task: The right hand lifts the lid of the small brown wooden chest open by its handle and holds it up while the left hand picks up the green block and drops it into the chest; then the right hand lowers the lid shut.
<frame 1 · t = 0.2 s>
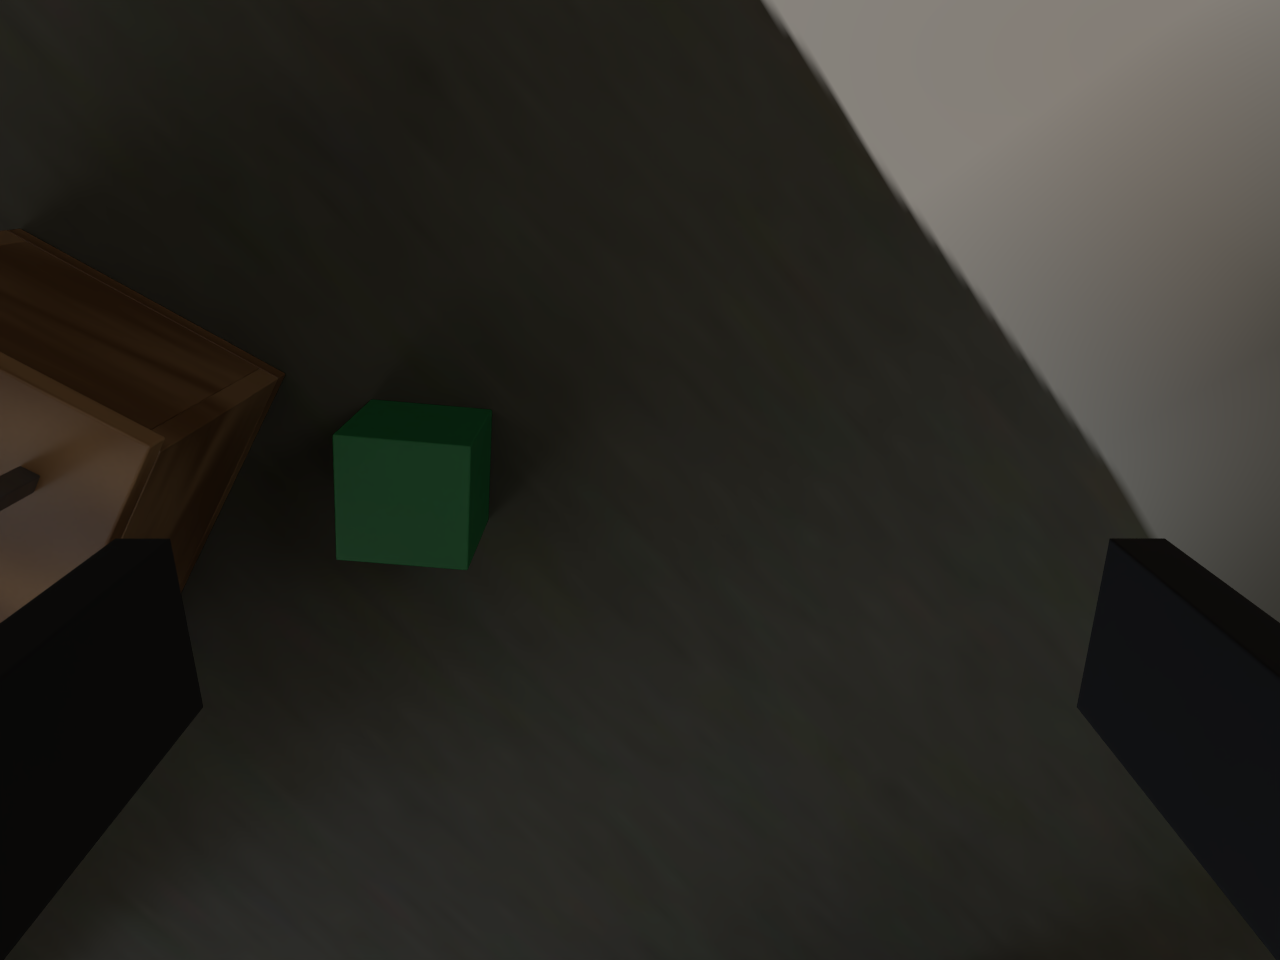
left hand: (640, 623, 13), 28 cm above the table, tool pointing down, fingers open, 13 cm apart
block: (431, 461, 41), on the table
chest: (91, 459, 41), on the table
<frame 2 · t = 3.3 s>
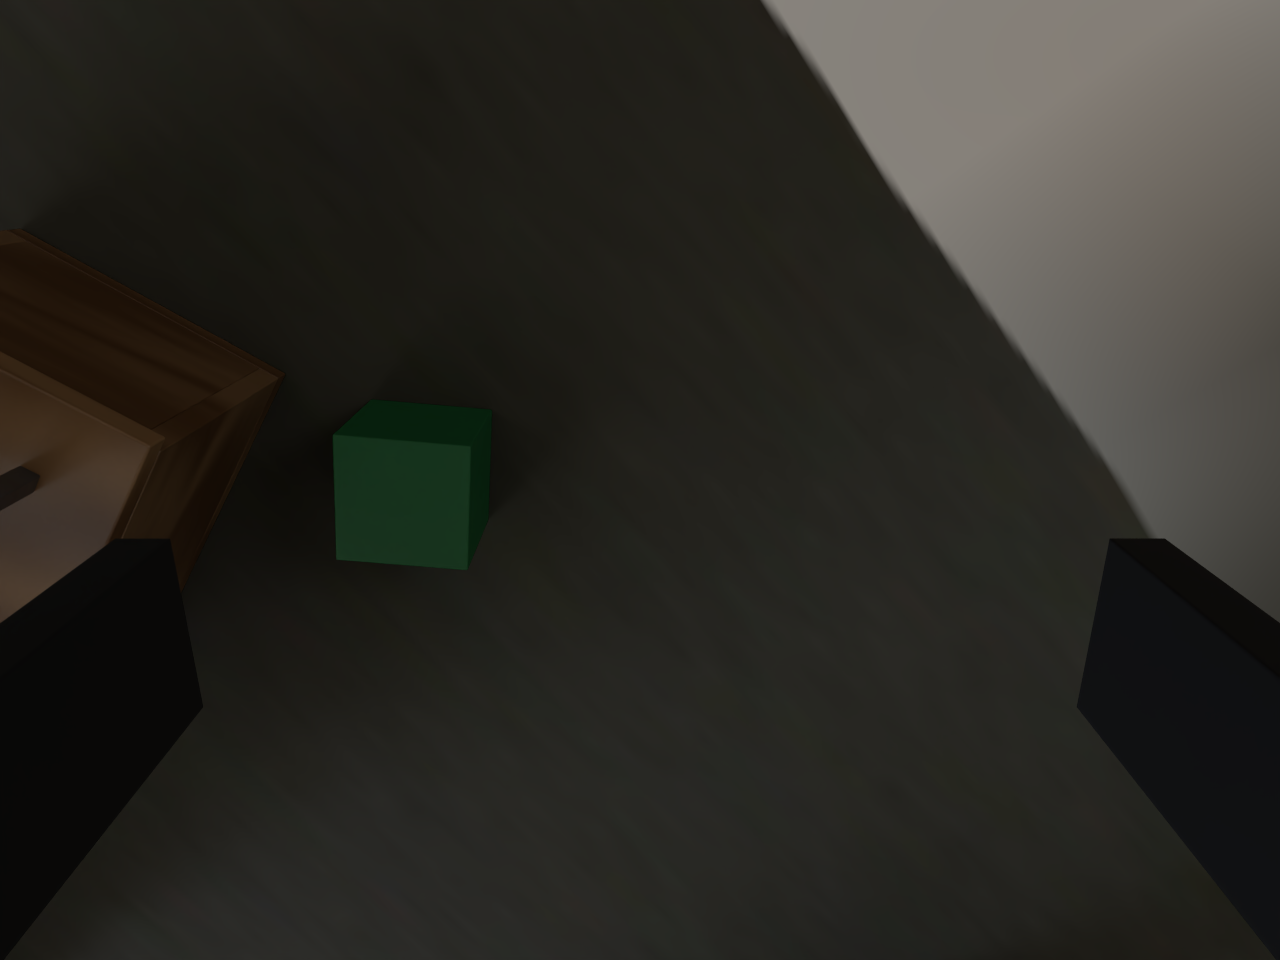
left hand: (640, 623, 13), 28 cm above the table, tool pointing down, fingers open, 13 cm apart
block: (431, 461, 41), on the table
chest: (91, 459, 41), on the table
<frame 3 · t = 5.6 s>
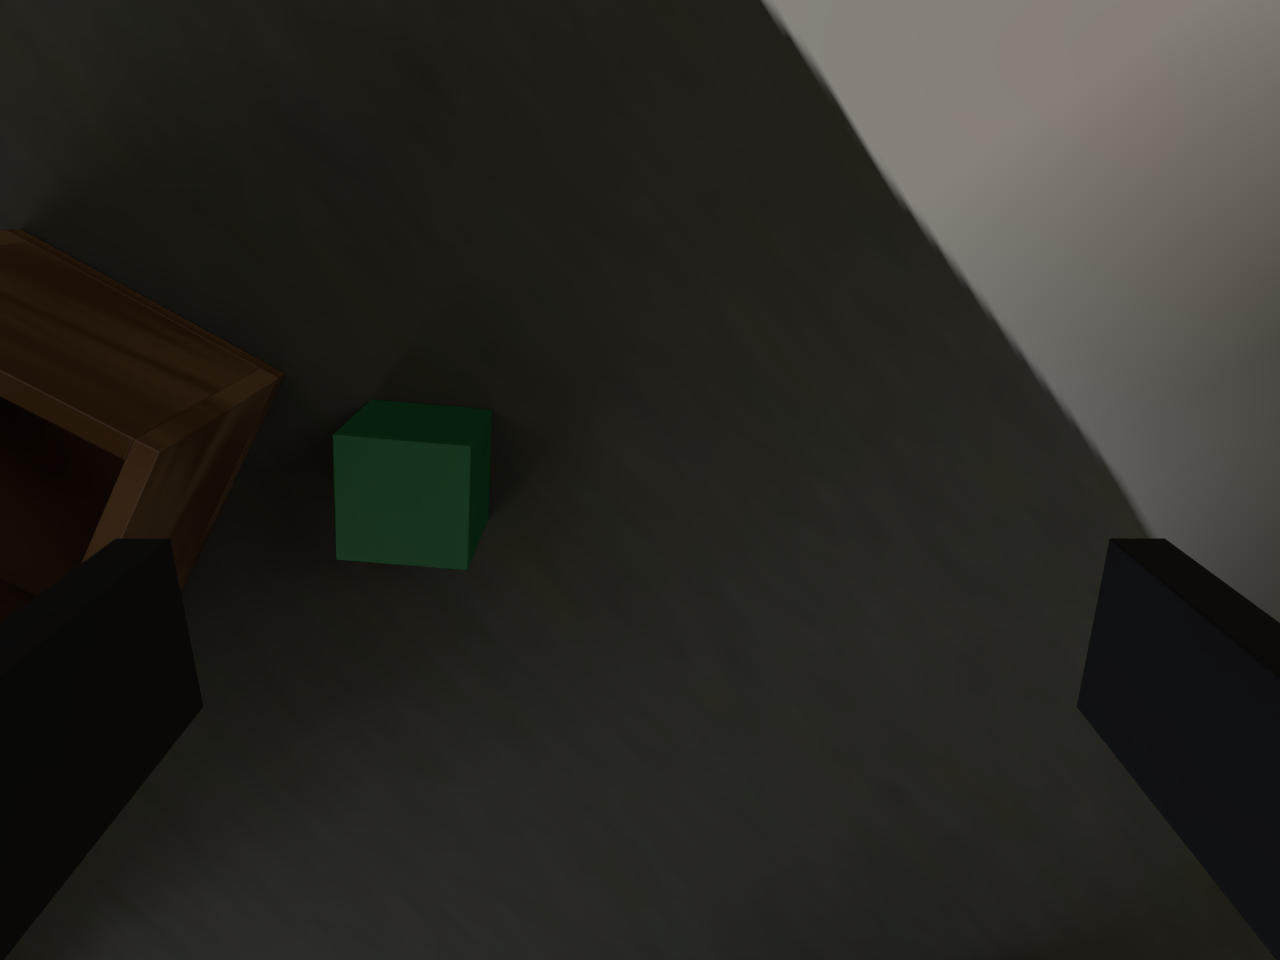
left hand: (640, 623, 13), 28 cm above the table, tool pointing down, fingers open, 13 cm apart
block: (431, 461, 41), on the table
chest: (91, 459, 41), on the table
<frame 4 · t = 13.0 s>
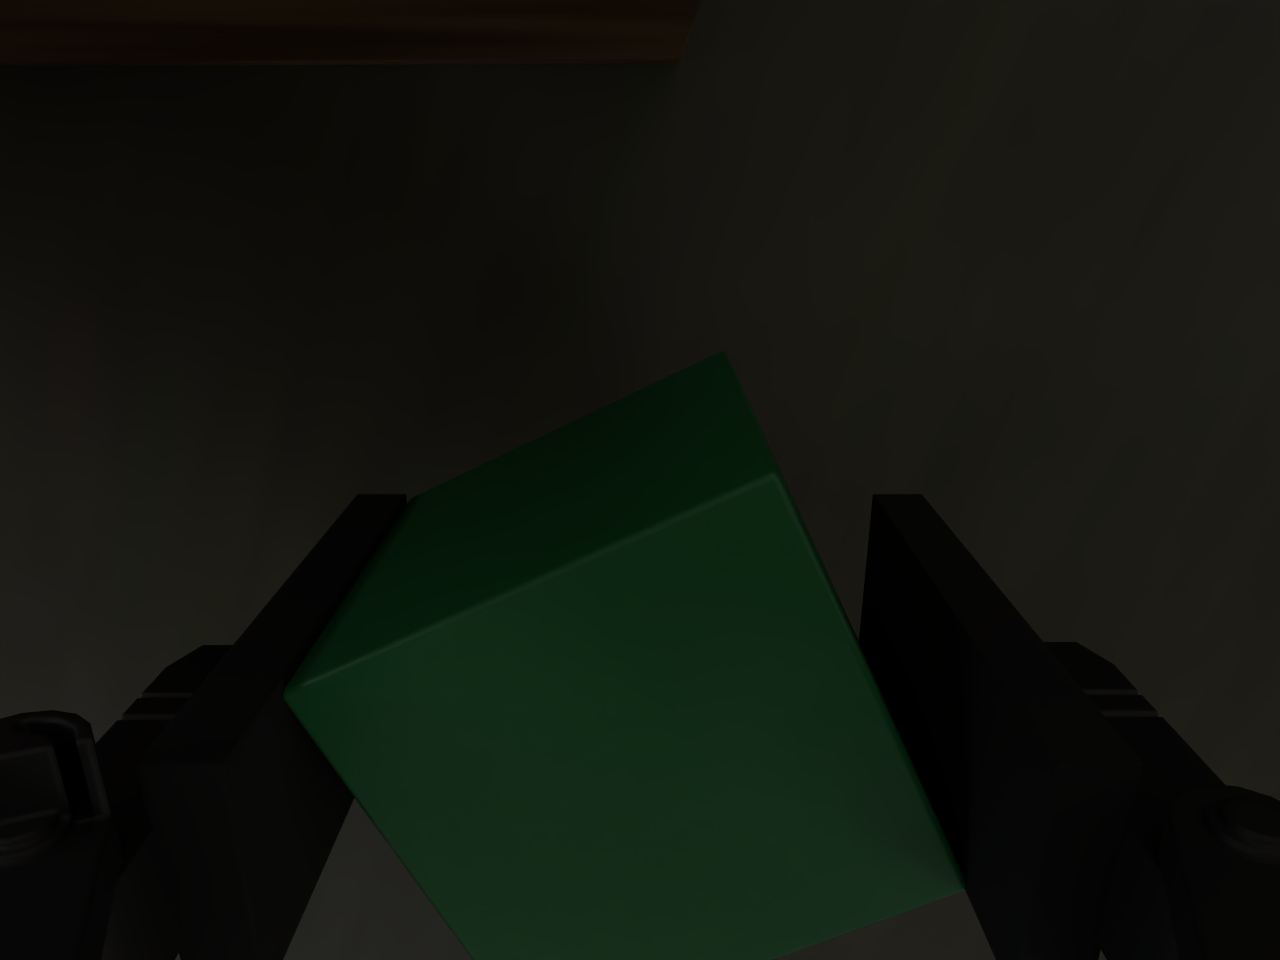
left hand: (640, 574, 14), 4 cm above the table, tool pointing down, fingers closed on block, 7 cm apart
block: (639, 571, 15), point 4 cm above the table, touching left hand
when the left hand's fingers open (19 cm above the table, at t = 16.4 s): block drops 18 cm, resting on chest.
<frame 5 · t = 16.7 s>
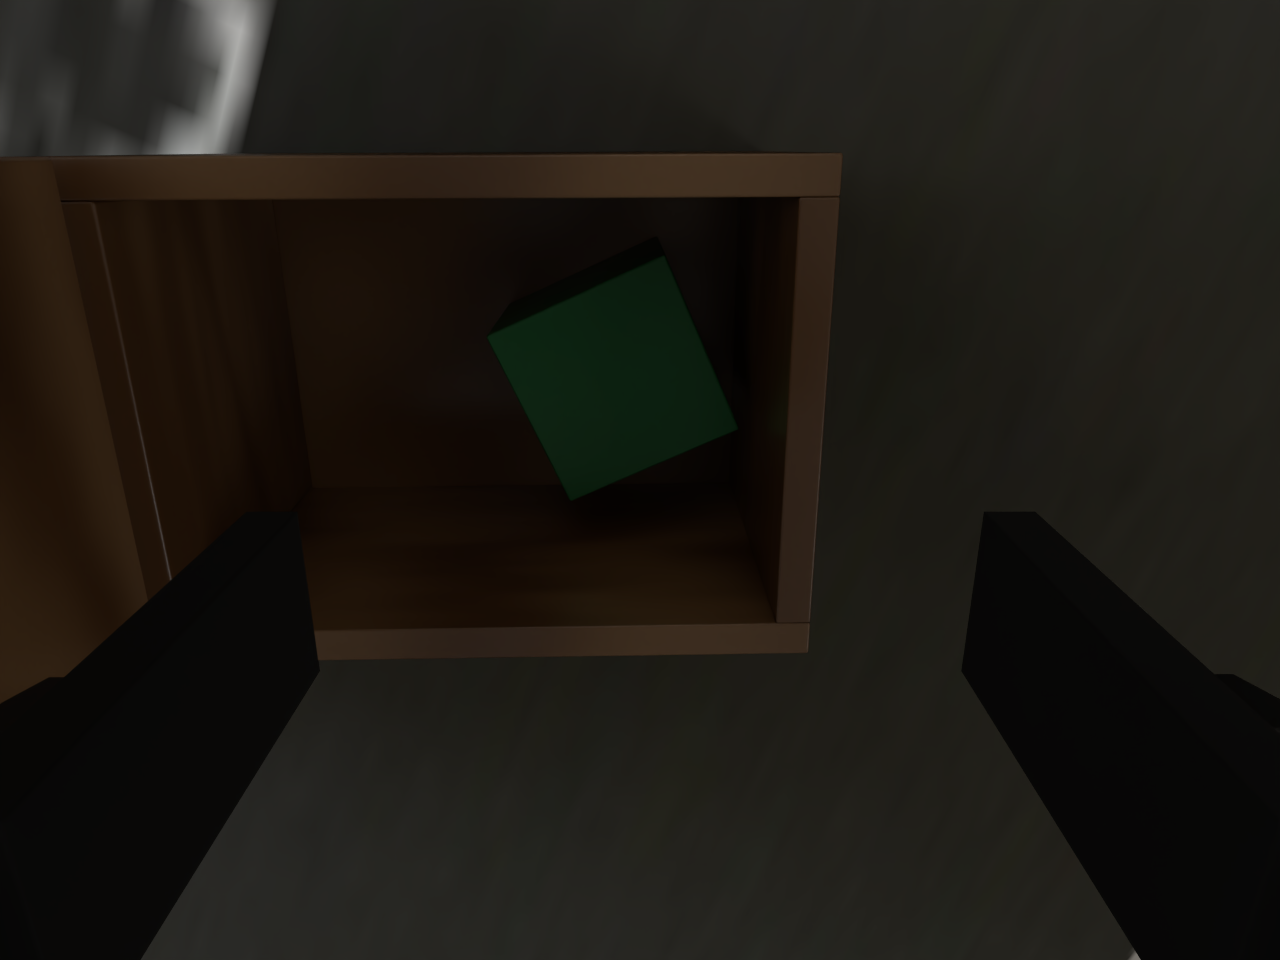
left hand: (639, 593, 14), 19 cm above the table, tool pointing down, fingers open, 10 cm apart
block: (615, 344, 31), point 1 cm above the table, touching chest
chest: (517, 337, 31), on the table, touching block
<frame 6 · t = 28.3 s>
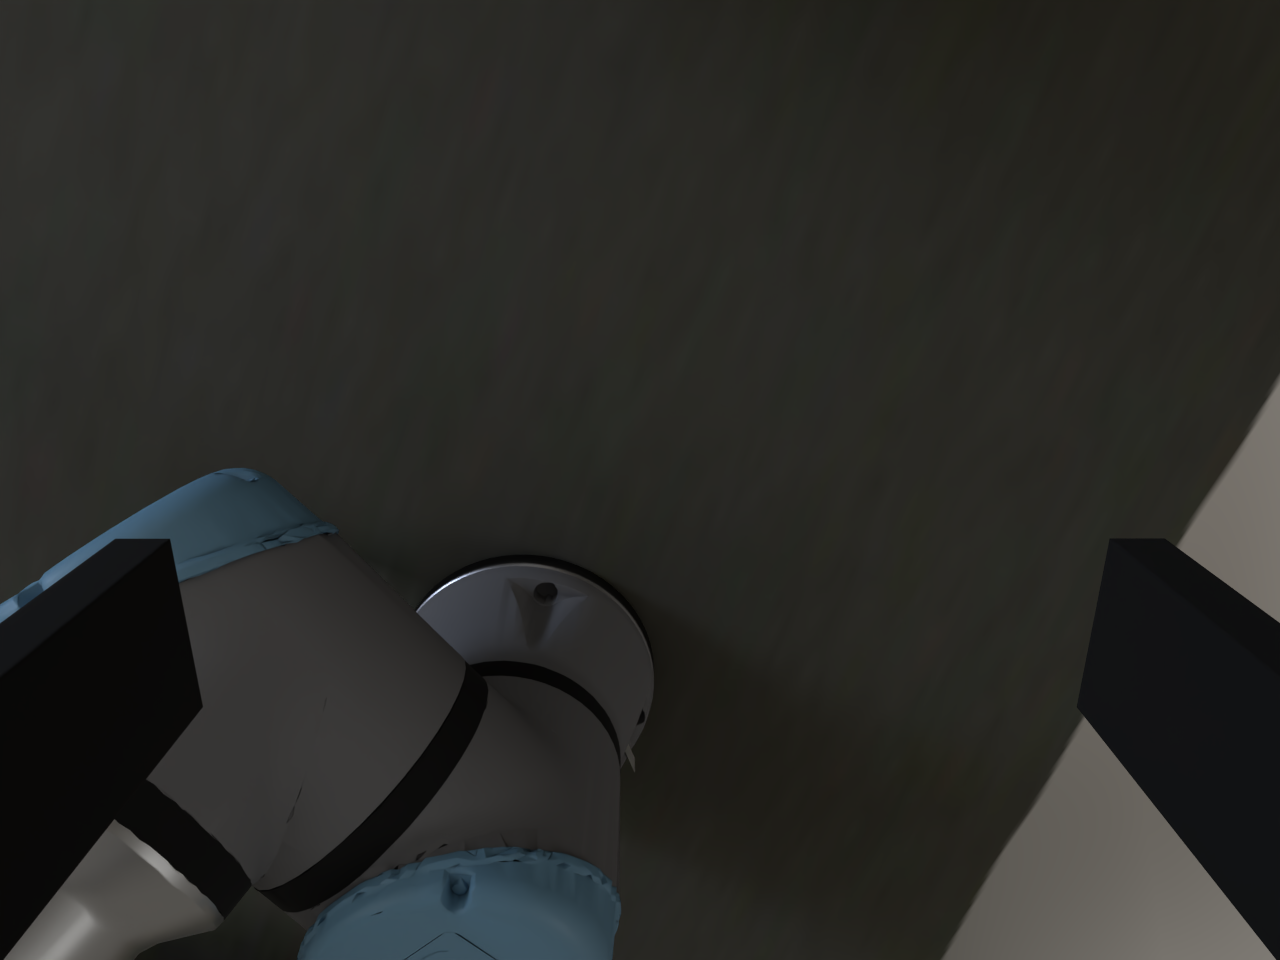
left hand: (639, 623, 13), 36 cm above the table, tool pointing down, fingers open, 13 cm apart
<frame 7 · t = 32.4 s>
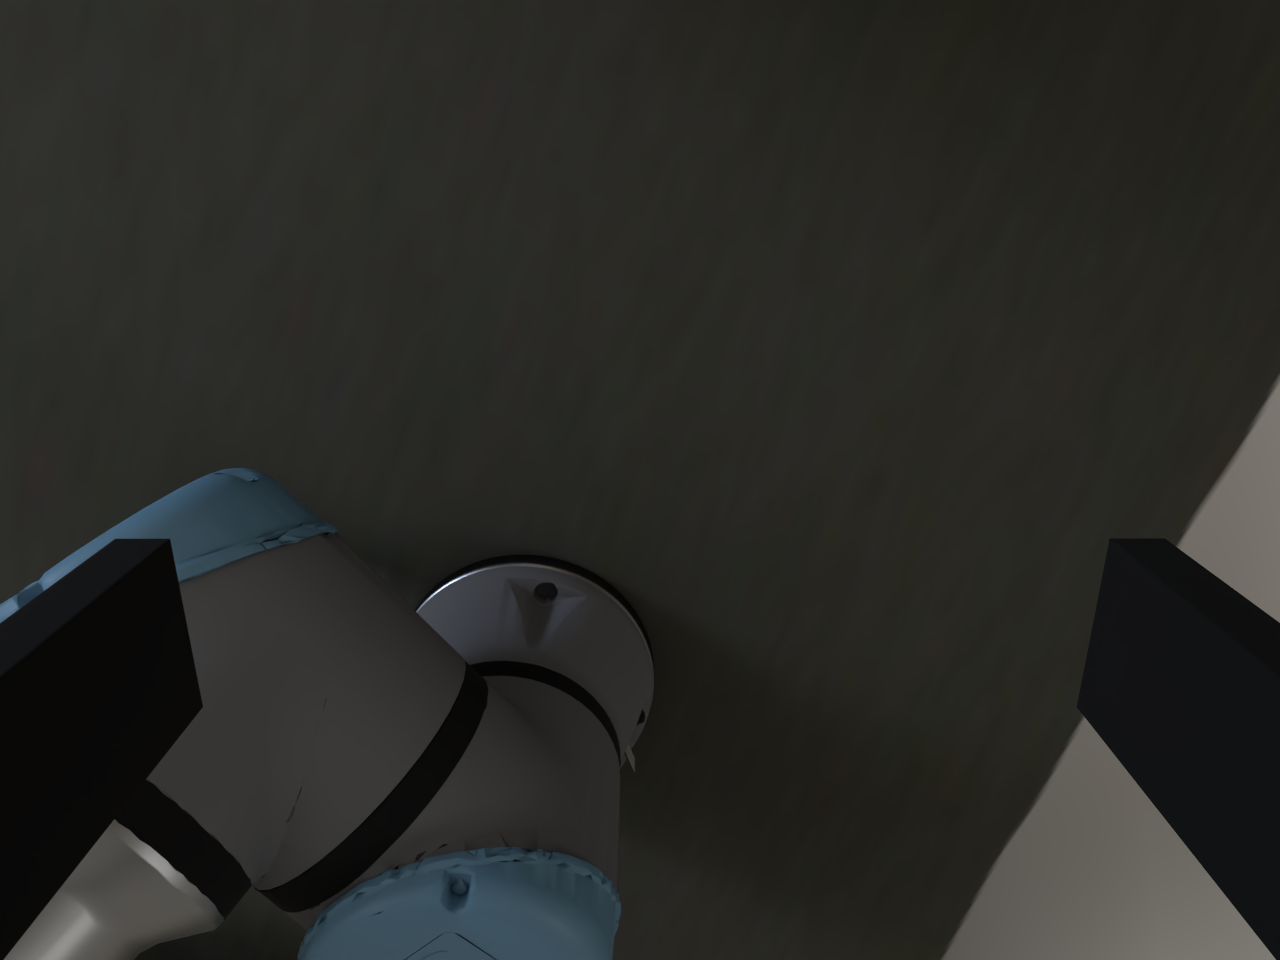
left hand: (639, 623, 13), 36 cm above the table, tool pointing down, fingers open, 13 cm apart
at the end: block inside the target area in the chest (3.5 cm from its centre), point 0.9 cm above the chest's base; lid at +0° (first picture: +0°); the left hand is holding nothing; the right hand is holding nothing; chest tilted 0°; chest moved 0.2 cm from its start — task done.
